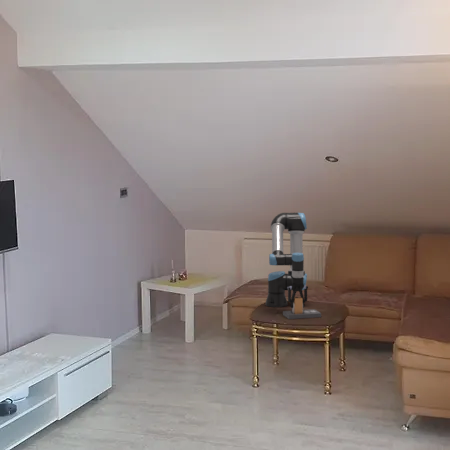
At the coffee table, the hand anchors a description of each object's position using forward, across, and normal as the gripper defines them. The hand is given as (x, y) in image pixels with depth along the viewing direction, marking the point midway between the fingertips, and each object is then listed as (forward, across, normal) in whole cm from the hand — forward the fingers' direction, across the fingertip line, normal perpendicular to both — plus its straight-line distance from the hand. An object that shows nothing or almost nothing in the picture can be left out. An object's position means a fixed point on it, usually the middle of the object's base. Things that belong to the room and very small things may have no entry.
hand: (297, 312), depth 445 cm
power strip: (+3, +3, 0) cm, 4 cm away
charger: (0, 0, 0) cm, 0 cm away
